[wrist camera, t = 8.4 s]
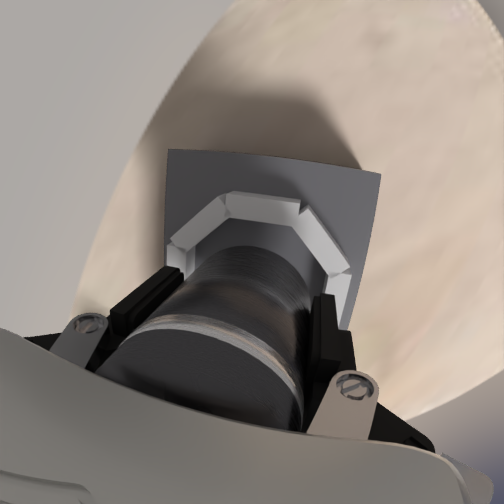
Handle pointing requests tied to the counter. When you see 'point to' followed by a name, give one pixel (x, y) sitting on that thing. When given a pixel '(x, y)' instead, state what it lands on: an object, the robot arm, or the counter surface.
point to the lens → (226, 341)
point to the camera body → (272, 216)
